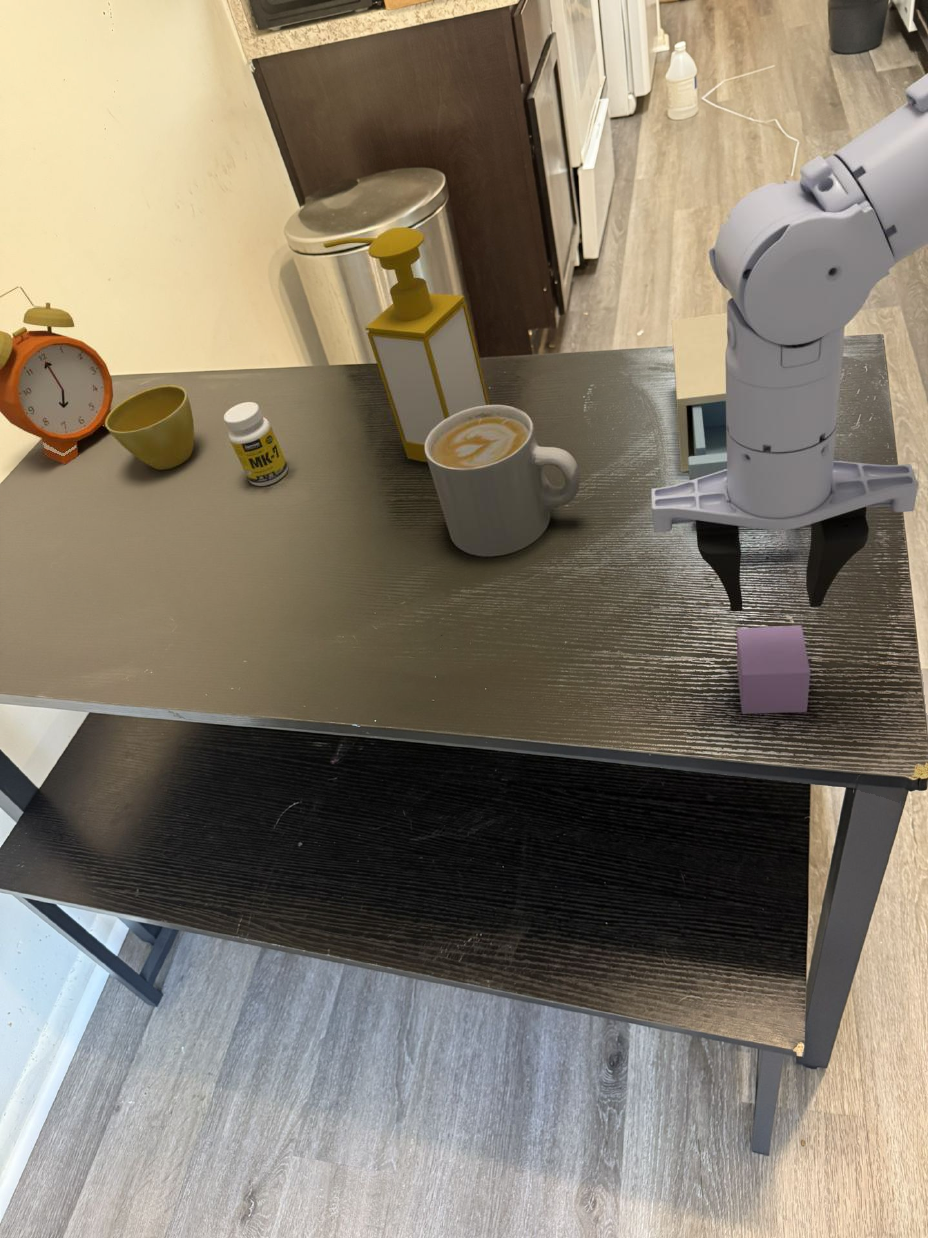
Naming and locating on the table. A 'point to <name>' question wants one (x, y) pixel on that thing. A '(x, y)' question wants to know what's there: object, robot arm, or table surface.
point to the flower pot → (155, 426)
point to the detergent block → (772, 669)
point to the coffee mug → (495, 479)
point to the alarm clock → (53, 383)
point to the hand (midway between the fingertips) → (774, 598)
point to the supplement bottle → (255, 444)
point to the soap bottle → (421, 345)
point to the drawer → (708, 439)
